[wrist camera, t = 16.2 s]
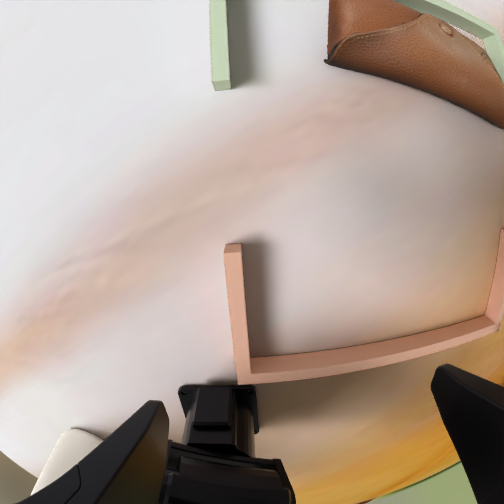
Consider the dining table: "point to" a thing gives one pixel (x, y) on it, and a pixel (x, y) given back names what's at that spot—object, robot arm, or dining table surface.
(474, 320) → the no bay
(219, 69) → the mint green arch
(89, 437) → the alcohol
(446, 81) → the sunglasses case
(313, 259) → the dining table surface
